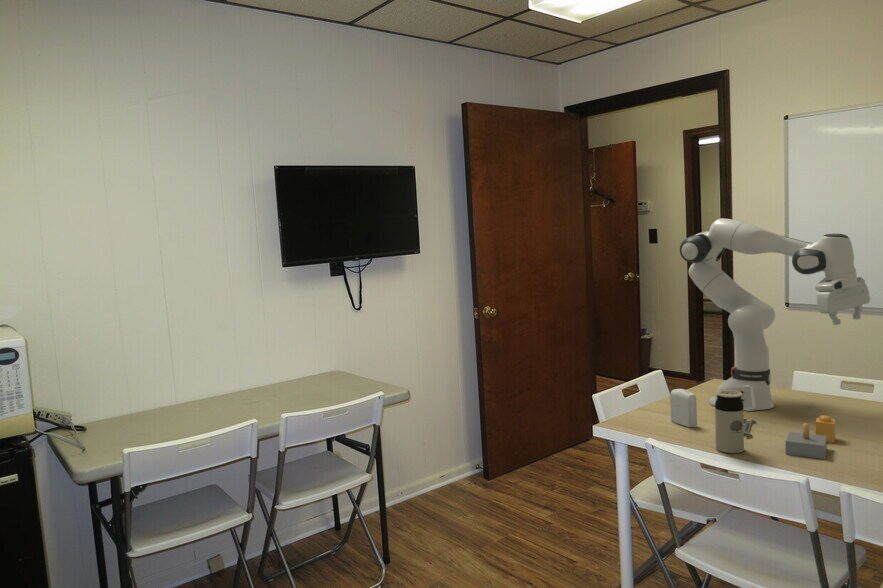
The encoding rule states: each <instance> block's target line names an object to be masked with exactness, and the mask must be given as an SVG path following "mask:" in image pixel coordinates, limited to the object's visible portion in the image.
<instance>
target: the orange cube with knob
mask: <svg viewBox="0 0 883 588" xmlns="http://www.w3.org/2000/svg"><path fill="white" fill-rule="evenodd" d="M815 435H823V436H827V443H830V444H834V443H835V441H836V419H835V418H832V416H829V415H826V414H825V415H819V417H816V420H815Z"/></svg>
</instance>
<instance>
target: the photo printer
mask: <svg viewBox="0 0 883 588" xmlns="http://www.w3.org/2000/svg"><path fill="white" fill-rule="evenodd" d="M669 395H670V396H669V398H670V403H669V404H670V421H671V422H673V423H675V424H679V425H681V426H684V427H688V428H695V427H696V426H698V411H697V410H698V409H697V396H696V395H695V394H694V393H693V392H691V391H690V390H687V389H685V388H676V389H675V388H674V389H672V390H671V392H670V394H669Z"/></svg>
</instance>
